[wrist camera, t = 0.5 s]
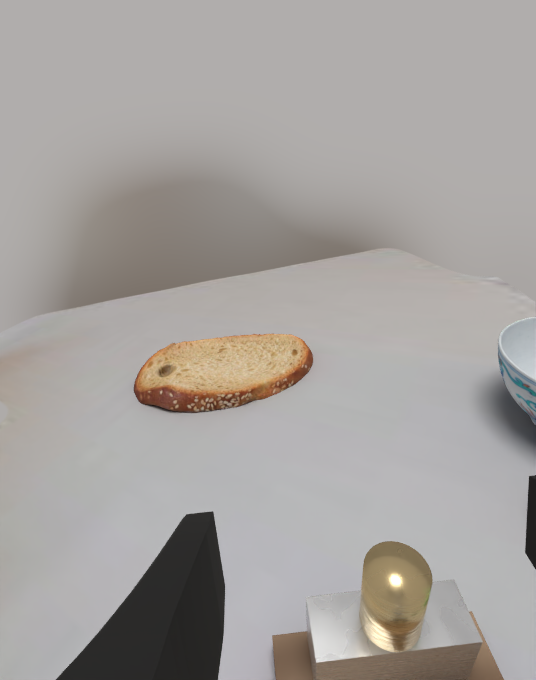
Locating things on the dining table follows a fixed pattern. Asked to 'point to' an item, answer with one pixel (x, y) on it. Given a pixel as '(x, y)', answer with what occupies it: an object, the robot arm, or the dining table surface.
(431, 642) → the jaw
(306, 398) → the dining table surface
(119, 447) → the dining table surface
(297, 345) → the bread slice
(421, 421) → the dining table surface
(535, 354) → the chinaware
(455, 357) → the dining table surface
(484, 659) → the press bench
